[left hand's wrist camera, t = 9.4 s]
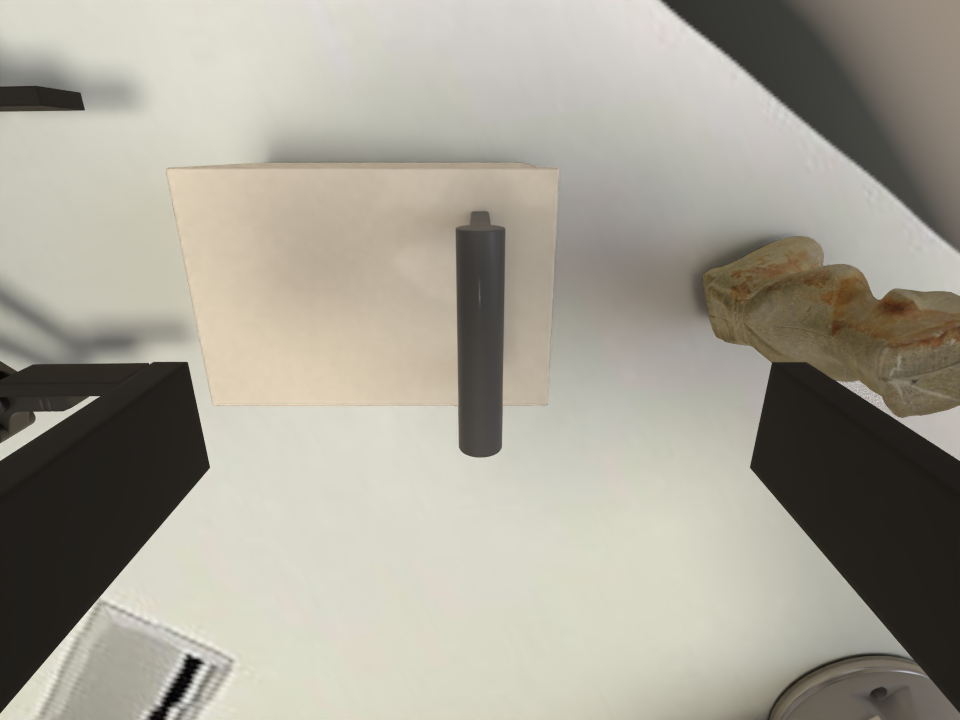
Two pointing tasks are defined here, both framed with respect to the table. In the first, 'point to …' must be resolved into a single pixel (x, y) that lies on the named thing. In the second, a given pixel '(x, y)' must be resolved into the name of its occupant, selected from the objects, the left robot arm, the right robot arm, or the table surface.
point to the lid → (373, 286)
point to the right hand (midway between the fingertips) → (103, 251)
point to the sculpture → (840, 324)
